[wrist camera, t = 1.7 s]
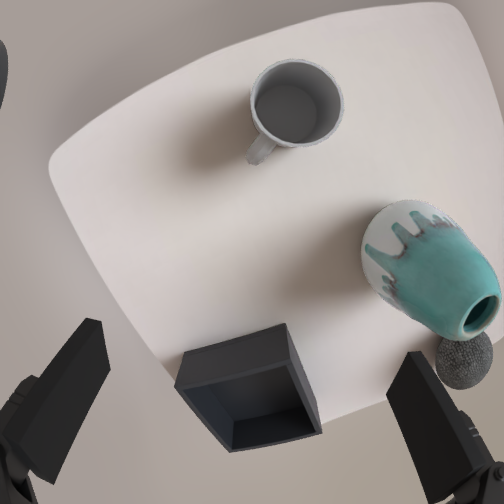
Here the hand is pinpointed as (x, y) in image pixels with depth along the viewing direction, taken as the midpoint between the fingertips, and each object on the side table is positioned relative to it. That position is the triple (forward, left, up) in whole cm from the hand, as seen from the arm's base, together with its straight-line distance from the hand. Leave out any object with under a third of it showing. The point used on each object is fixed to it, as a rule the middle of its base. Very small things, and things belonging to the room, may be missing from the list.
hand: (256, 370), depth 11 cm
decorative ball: (+29, +23, -23) cm, 43 cm away
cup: (-9, +6, -23) cm, 25 cm away
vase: (+8, +15, -23) cm, 28 cm away
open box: (+22, -8, -23) cm, 32 cm away
